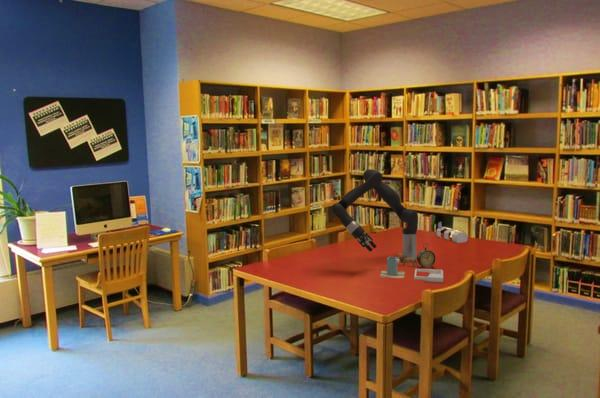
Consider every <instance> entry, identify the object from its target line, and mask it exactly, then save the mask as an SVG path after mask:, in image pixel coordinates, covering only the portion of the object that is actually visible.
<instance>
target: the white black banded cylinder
mask: <svg viewBox="0 0 600 398" xmlns="http://www.w3.org/2000/svg"><path fill="white" fill-rule="evenodd" d="M437 225H438V226H437V227H438V228H437V229H436V236H437V237H438V238H440V239H442V234H441V231H443V230H445V229H446V230H445V231H444V232H443V238H444V239H445V240H446V241H450V238H451V240H452V242H453V243H456V244H459V243H460V244H462V243H467V241H468V240H469V239H468V236H469V235H468V233H466V232H464V231H461V230H456V229H453V228H450V227H446V226H442V225H443V224H442V221H439V222H438V224H437Z"/></svg>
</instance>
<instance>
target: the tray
mask: <svg viewBox="0 0 600 398" xmlns="http://www.w3.org/2000/svg"><path fill="white" fill-rule="evenodd" d="M418 273H428V274H427V276H419V275H417V274H418ZM413 279H414V280H421V281H422V280H423V283H432V284H433V283H434V284H435V283H436V284H444V270H443V269H433V268H432V269H429V268H415V269H414V277H413Z"/></svg>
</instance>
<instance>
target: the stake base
mask: <svg viewBox="0 0 600 398" xmlns="http://www.w3.org/2000/svg"><path fill="white" fill-rule="evenodd" d="M405 273H406V271H404V270H398V274H397V275H396V276H393V275H387V269H386V270H381V271H380V275H379V278H389V279H391V278H392V279H405Z"/></svg>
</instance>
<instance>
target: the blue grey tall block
mask: <svg viewBox="0 0 600 398" xmlns="http://www.w3.org/2000/svg"><path fill="white" fill-rule="evenodd" d="M399 263H400V261H399V259H398V257H397V256H388V257H387V258H386V271H387V275H393V276H396V275H397V274H398V271H399V269H398V264H399Z"/></svg>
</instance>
